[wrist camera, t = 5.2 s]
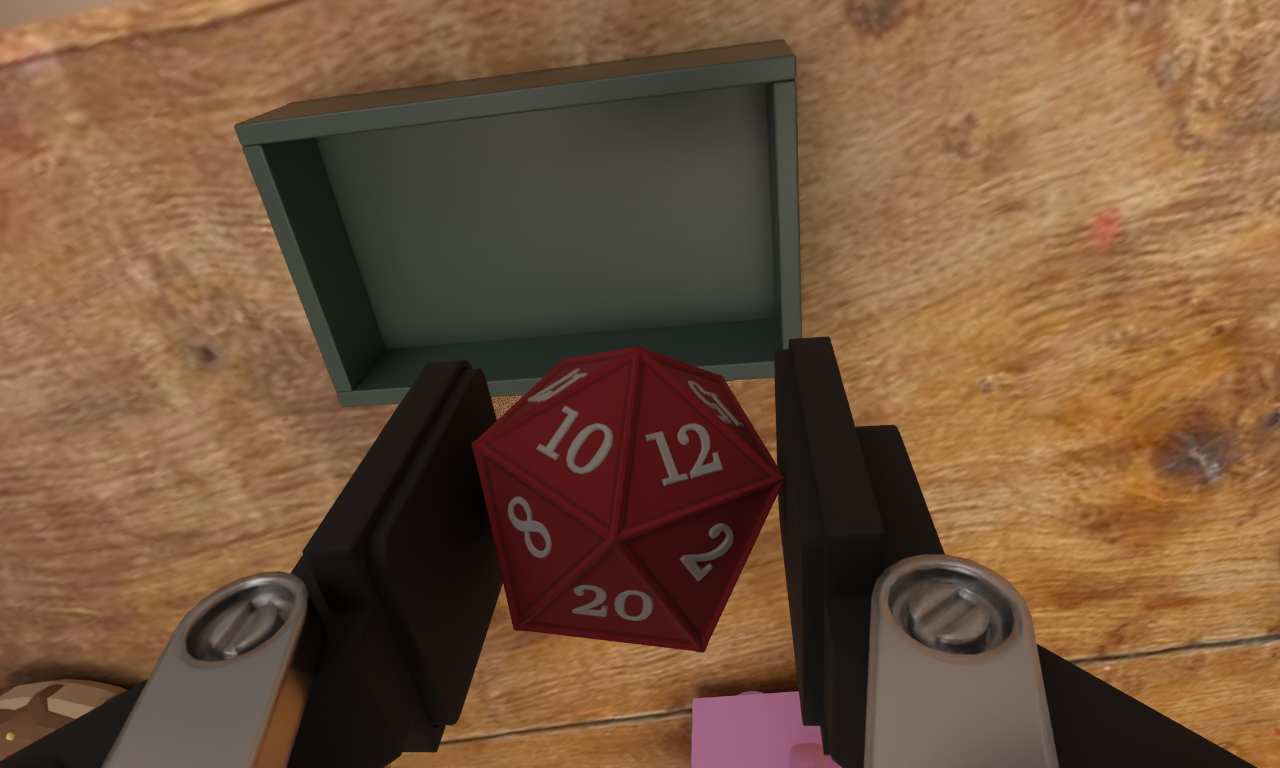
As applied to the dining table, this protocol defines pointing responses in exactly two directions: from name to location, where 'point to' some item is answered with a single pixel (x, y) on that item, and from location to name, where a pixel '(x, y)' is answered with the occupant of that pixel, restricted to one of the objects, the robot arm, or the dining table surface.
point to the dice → (625, 499)
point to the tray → (543, 218)
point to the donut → (46, 709)
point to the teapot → (755, 733)
